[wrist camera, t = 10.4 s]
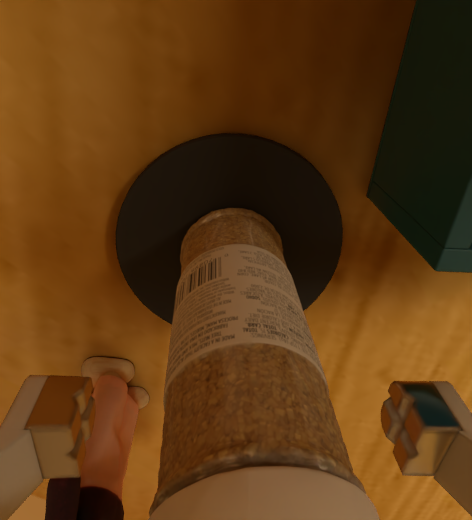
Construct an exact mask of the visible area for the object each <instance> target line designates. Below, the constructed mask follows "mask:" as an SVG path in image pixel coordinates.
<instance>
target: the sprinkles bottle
mask: <svg viewBox="0 0 472 520" xmlns="http://www.w3.org/2000/svg"><path fill="white" fill-rule="evenodd" d="M180 262H181V265H182V268H181V277H180V279H179V282H178V286H177V291H176V299H175V306H174V314H173V322H172V330H171V338H170V347H169V355H168V364H167V372H166V380H165V389H164V411H165V416H164V424H163V441H162V447H161V456H160V469H159V473H158V489H157V493H156V494H155V497H154V501H153V503H152V505H151V508H150V511H149V515H150V518H149V519H148V520H380V519H379V516H378V513H377V511H376V508H375V506H374V504H373V503H372V501H371V500H370V499H369V497H368V496H367V495H366V492H365V490H364V487H363V485H362V483H361V482H360V481H359V479H358V478H357V477H356V476H355V474H354V473H353V469H352V466H351V463H350V461H349V457H348V453H347V449H346V446H345V444H344V442H343V439H342V435H341V431H340V428H339V425H338V422H337V420H336V416H335V413H334V409H333V406H332V403H331V400H330V398H329V391H328V385H327V381H326V378H325V375H324V372H323V369H322V366H321V363H320V360H319V357H318V354H317V351H316V348H315V345H314V342H313V339H312V336H311V333H310V330H309V327H308V324H307V321H306V318H305V315H304V312H303V309H302V306H301V303H300V300H299V297H298V293H297V290H296V287H295V284H294V281H293V278H292V276H291V274H290V272H289V270H288V269H287V265H286V262H285V260H284V256H283V248H282V242H281V238H280V235H279V234H278V232H277V231H276V230H275V228H274V226H273V225H272V224H271V223H270V222H269V221H268V220H267V219H266V218H265V217H263V216H261V215H260V214H257V213H256V212H254V211H252V210H247V209H243V208H225V209H219V210H215V211H212V212H210V213H208V214H207V215H205V216H203V217H201V218H200V219H199V220H198V221H197V222H196V223H194V224H193V225H192V226H191V227H190V228H189V230H188V232H187V234H186V235H185V237H184V239H183V242H182V245H181V254H180Z"/></svg>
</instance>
